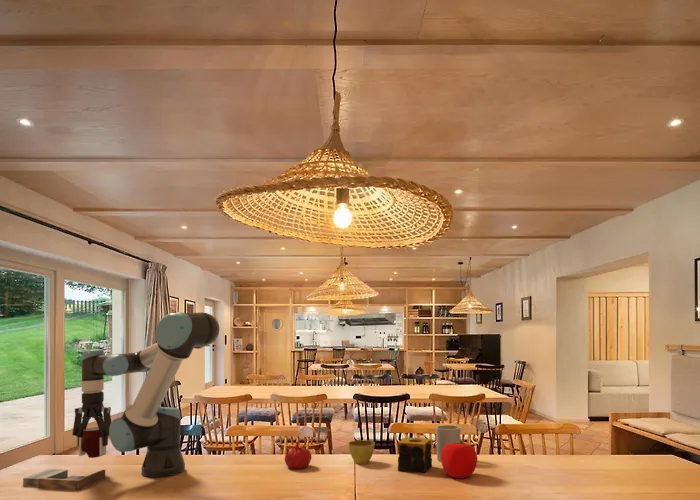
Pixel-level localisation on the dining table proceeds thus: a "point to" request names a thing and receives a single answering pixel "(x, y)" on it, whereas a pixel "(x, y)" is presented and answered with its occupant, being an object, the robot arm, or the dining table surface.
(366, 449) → the flower pot
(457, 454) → the tomato
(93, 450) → the mug
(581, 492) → the dining table surface
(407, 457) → the candle
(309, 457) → the pomegranate
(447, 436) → the cup
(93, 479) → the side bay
